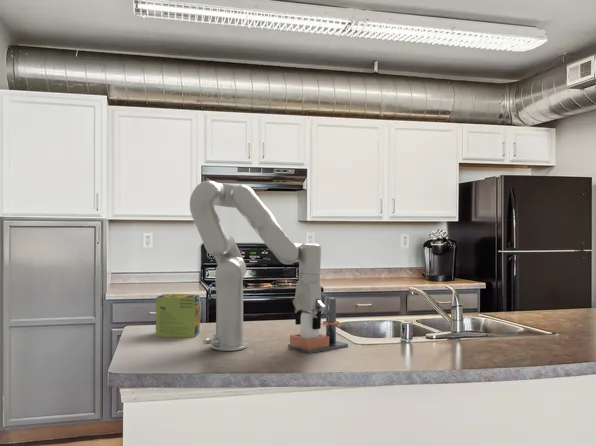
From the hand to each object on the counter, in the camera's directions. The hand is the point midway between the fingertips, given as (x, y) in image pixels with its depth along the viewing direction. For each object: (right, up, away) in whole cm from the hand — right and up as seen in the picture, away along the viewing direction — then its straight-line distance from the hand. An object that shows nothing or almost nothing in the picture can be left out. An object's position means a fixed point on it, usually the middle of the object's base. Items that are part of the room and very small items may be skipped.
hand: (307, 326), depth 195 cm
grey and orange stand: (+4, -8, +2) cm, 9 cm away
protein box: (-51, -8, +22) cm, 56 cm away
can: (+1, -7, 0) cm, 7 cm away
